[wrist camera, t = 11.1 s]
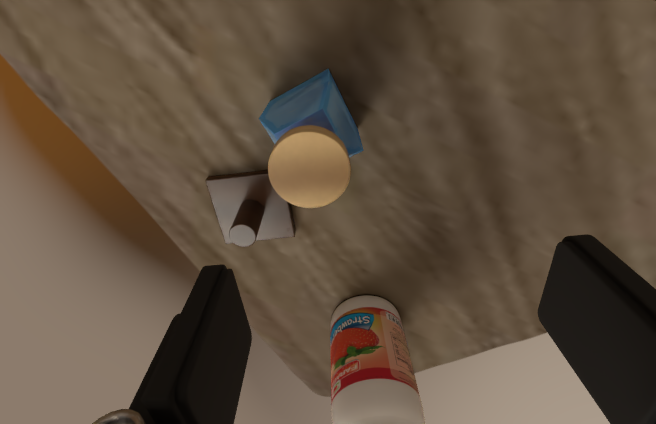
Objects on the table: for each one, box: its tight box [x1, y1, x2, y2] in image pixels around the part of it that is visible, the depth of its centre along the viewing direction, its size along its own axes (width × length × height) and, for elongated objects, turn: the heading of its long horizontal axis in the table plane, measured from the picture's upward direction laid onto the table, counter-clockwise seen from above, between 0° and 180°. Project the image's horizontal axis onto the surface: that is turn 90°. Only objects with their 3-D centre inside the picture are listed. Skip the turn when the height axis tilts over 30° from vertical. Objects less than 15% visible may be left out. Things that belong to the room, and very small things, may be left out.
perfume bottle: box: [259, 69, 363, 157], centre depth 28 cm, size 6×6×12 cm
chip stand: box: [206, 170, 295, 247], centre depth 36 cm, size 8×8×6 cm
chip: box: [268, 125, 351, 208], centre depth 22 cm, size 5×5×1 cm
